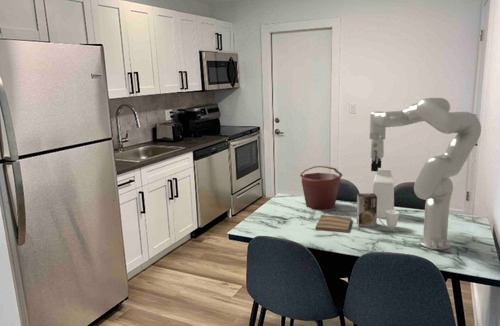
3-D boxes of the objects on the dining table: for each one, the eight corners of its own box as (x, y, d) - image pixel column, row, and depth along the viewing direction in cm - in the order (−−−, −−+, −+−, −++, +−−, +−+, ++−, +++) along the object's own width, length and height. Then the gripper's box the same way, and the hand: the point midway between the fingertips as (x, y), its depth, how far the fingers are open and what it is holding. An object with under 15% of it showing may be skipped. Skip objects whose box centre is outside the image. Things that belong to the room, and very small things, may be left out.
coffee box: (373, 222, 202) (374, 193, 200) (376, 227, 196) (377, 196, 193) (356, 222, 203) (356, 193, 200) (358, 226, 197) (359, 196, 194)
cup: (396, 230, 190) (397, 214, 189) (376, 226, 196) (377, 211, 195) (400, 226, 196) (401, 211, 194) (381, 223, 202) (381, 208, 200)
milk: (370, 217, 212) (372, 170, 208) (371, 211, 223) (373, 167, 218) (394, 218, 208) (396, 171, 204) (393, 212, 219) (395, 167, 215)
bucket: (345, 204, 238) (346, 164, 234) (333, 213, 219) (334, 170, 215) (308, 199, 250) (308, 161, 246) (294, 208, 231) (294, 167, 227)
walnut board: (348, 232, 189) (348, 229, 189) (315, 229, 194) (315, 226, 194) (351, 219, 208) (351, 217, 207) (321, 217, 213) (321, 214, 213)
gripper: (382, 138, 184) (381, 173, 187) (387, 134, 200) (386, 167, 202) (366, 137, 188) (365, 172, 191) (372, 134, 203) (371, 166, 206)
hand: (376, 169), depth 197 cm, fingers open, 9 cm apart
